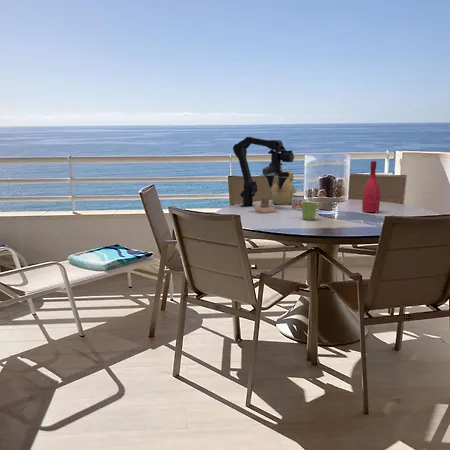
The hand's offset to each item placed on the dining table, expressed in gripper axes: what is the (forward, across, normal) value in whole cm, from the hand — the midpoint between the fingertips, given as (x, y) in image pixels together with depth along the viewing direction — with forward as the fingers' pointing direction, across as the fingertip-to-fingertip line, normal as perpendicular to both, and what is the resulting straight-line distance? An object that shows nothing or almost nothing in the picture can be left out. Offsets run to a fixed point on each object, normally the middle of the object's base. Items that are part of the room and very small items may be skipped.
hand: (275, 187), depth 301 cm
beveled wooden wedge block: (+11, +9, -14) cm, 20 cm away
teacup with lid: (+13, +8, +14) cm, 21 cm away
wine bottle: (+13, +35, +44) cm, 58 cm away
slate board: (+13, +8, -14) cm, 21 cm away
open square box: (+12, +9, -14) cm, 20 cm away
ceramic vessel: (+13, -16, +19) cm, 28 cm away
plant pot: (+13, +35, -4) cm, 38 cm away
